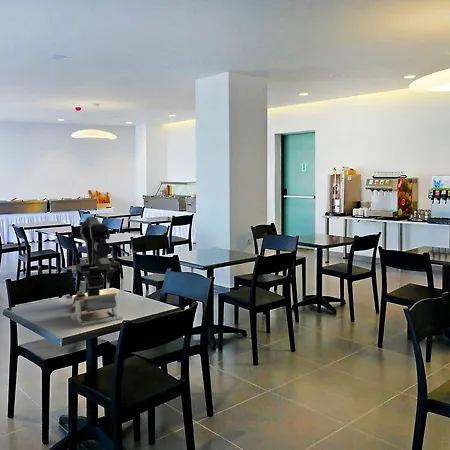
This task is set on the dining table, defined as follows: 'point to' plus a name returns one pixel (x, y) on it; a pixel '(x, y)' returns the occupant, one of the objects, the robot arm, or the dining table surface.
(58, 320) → the dining table surface
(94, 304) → the trapdoor
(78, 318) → the trapdoor frame
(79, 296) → the bronze domed piece
